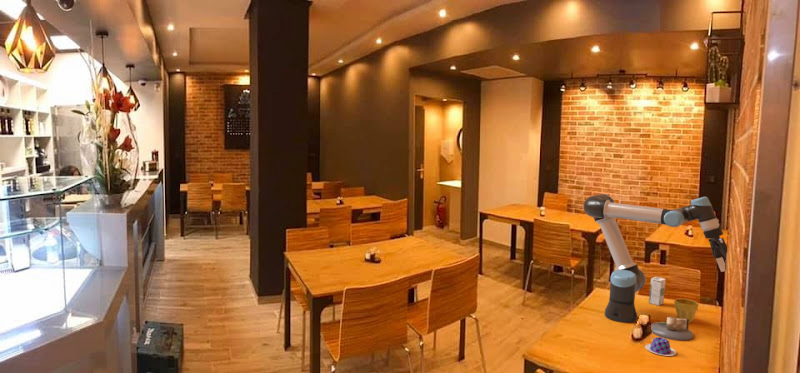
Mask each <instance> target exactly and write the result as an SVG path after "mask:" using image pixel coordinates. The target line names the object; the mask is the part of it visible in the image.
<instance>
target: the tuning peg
mask: <svg viewBox="0 0 800 373" xmlns="http://www.w3.org/2000/svg"><path fill="white" fill-rule="evenodd" d="M666 322H667V324H666V328H667V329H669V330H676V329H689V325H690V322H689V320H688V319H677V317H673V316H667V317H666Z"/></svg>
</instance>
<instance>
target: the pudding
mask: <svg viewBox="0 0 800 373" xmlns="http://www.w3.org/2000/svg"><path fill="white" fill-rule="evenodd" d="M670 345H671V344H670V341H669V339H667V338H663V337H660V336H656V337H654V338H652V341H651V343H647V344H645V346H644V347H645V349H646V350H647V351H649V352H651V353H654V354H656V355H659V356H665V357H666V356H667V357H669V356H671V357H673V356H675V355H677V351H676V350H675V349H674V348H672V347H671V346H670Z"/></svg>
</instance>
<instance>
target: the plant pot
mask: <svg viewBox="0 0 800 373" xmlns="http://www.w3.org/2000/svg"><path fill="white" fill-rule="evenodd" d="M673 306H674V308H675V312H676V318H677V319H688V320H689V323H692V322H693V320H694V318H695V314H696V312H697V311H698V308H699V302H697V301H695V300H692V299H689V298H676V299H674V304H673Z"/></svg>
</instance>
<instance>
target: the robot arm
mask: <svg viewBox="0 0 800 373" xmlns="http://www.w3.org/2000/svg"><path fill="white" fill-rule="evenodd" d="M582 206H583V207H582V208H583V211H584V213H585V214H586V215H587V216H589V217H591V218H593V221H594V222H595V223H597V224H598V225H599V227H600V229H601V230H600V231H601V232H602V234H603V237H604V239H605V243H606V246H607V247H608V249H609V252H610V255H611V257H612V259H613V261H614V262H613V263H614V264H615V268H614V271H612V273H611V275H610V280H609V281H610V282H609V284H610V286H609V299H608V302H607V305H606V307H605V309H604V316H605V318H606V319H609V320H612V321H615V322H620V323H636V322H637V321H636V320H638V313H637V310H636V306H635V298H636V293H637V292H638V291H640V290H642V288H644V286H645V283H646V276H645V273H644V272H643V271H642V270H641V269H640V268H639V266H638V264H637V262H634V261H633V259H632V256H631V254H630V252H629V250H628V246H627V244H626V242H625V240H624V237H623V235H622V232H621V230H620V228H619V225H618V222H617V219H620V220H621V219H622V220H629V221H636V222H643V223H650V224H651V223H652V224H659V225H664V226H668V227H672V228H677V227H680V226H682V225H683V224H685V223H689V222H693V221H696V220H697V221H698V223H699V226H700V228H701V231H703V235H704V238H705V239H706V240H707V239H708V242H709V245H710V250H711V252H712V257H713V258H714V259H715V260H716V263H717V265H718V268H719V270H720V272H721V273H722V272H726V271H725V265H726V263H725V261H726V252H727V246H728V245H727V243H726V241H725V240H724V239H725V238H723V237H721V236H722V235H724V232H723V230H722V227H720V223H719V222H720V220H719V219H718V218H717V216H716V215H717V214H716V213H715V210H714V209H713V205H712V203H711V201H710V199H709V197H707V196H702V197H698V198H695V199H691V200H690V204H689V205H685V206H683V207H678V208H675V209H670V208H669V209H668V208H658V207H652V206H643V205H635V204H627V203H621V202H619V203H618V202H615V200H614V199H613V198H612V196H610V195H608V194H603V193H600V194H596V195H590V196H588V197H587V198H586V199H585V200H584V201H583V205H582Z"/></svg>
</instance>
